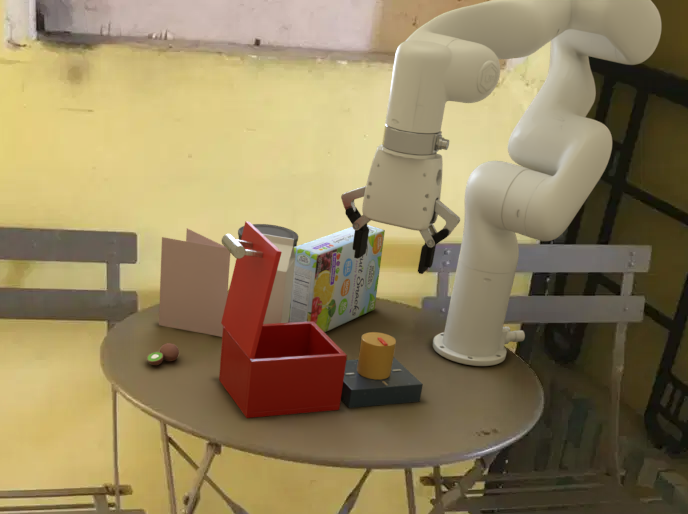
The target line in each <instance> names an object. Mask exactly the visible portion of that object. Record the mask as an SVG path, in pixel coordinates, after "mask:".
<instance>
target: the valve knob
mask: <svg viewBox="0 0 688 514" xmlns="http://www.w3.org/2000/svg"><path fill="white" fill-rule="evenodd" d="M360 339H361V340H360V346H359V352H358V358H357V359H358V365H357V372H358V373H359V374H360V375H361V376H363V377H366V378H369V379H376V380H381V379H386V378H388V377H389V376H390V374H391V368H392V363H393V357H394V358H395V350H396V344H397V339H396V338H395V337H394V336H391V335H389V334H387V333H383V332H376V331H372V332H365V333H364V334H362V335H361V338H360Z"/></svg>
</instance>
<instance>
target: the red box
mask: <svg viewBox="0 0 688 514" xmlns="http://www.w3.org/2000/svg"><path fill="white" fill-rule="evenodd" d="M347 358H348V355H347V354H346V353H345V351H343V350H342V348H340V346H339V345H338V344H336V342H335V341H333V339H332V338H330V337H329V335H328V334H327V333H326V332H323V330H322V329H321V328H320V327H319V326H318V325H317V324H316V323H315V322H314V321H310V322H291V323H272V324H263V326H262V330H261V334H260V338H259V342H258V346H257V349H256V353H255V357H254V359H250V358H249V357H248V356H247V355H246V353H245V352H244V351H243V350H242V348H241V347H240V346H239V345H238V343H237V342H236V341H235V340H234V339H233V337H232V336H231V335H230V334H229V332H228V331H227V330H226V329H225V327H224V326H223V333H222V337H221V349H220V363H219V375H218V380H219V382H220V383H221V385H222V387H223V388H224V389H225V390H226V392H227V393H228V394H229V396H230V397H231V399H232V401H234V403H235V404H236V405H237V407H238V408H239V409H240V411H241V412H242V414H243V416H245V418H246V419H249V418H250V419H253V418H263V417H273V416H285V415H297V414H309V413H319V412H329V411H330V412H331V411H339V410H340V409H341V408H340V407H341V402H342V400H341V394H342V387H343V380H344V373H345V366H346V360H348V359H347Z"/></svg>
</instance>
